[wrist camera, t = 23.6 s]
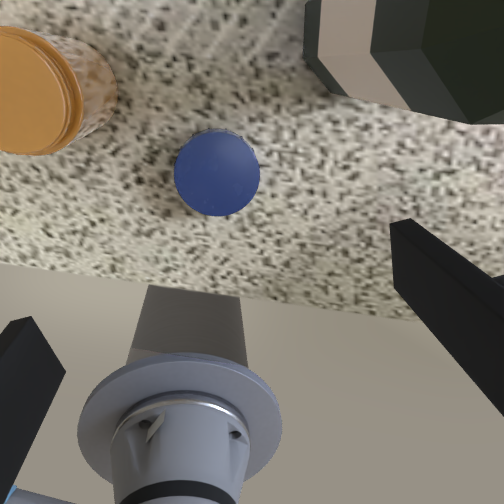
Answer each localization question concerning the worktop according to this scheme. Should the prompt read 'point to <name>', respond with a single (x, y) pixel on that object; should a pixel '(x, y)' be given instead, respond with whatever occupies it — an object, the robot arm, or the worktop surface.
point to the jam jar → (51, 91)
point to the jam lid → (216, 172)
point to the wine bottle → (412, 54)
